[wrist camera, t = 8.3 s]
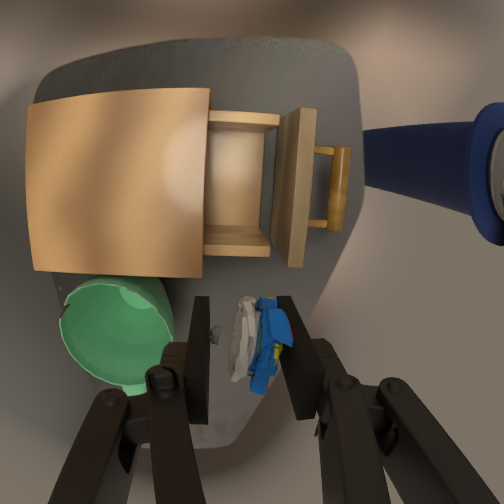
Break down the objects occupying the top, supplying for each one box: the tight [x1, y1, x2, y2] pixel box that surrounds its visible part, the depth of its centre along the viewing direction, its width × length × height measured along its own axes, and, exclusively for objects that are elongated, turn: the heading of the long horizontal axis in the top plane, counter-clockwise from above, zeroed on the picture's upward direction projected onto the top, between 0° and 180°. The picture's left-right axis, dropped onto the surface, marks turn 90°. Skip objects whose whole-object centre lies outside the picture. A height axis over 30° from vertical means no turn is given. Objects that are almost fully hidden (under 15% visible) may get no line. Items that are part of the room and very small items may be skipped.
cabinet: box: [26, 88, 213, 278], centre depth 22 cm, size 14×13×10 cm
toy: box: [209, 296, 293, 395], centre depth 14 cm, size 5×4×5 cm
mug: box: [59, 274, 175, 396], centre depth 26 cm, size 15×10×10 cm
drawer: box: [203, 107, 351, 268], centre depth 24 cm, size 17×11×8 cm
